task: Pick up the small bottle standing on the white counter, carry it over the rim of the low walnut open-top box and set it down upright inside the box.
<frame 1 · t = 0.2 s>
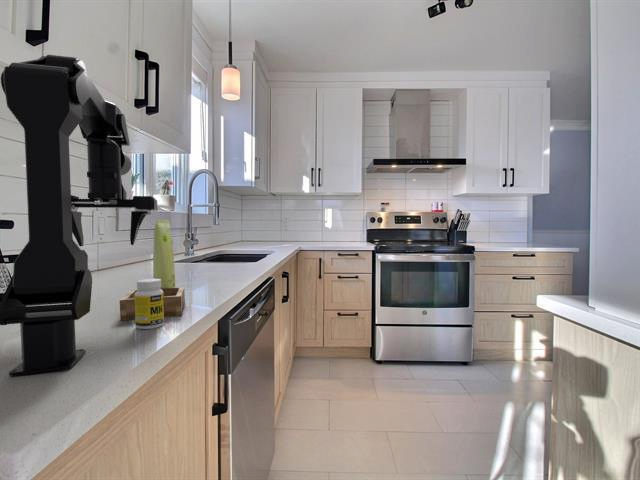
hand: (107, 245, 72), 14 cm above the counter, fingers open, 9 cm apart
supplement bottle: (150, 326, 64), on the counter
walnut box: (155, 311, 75), on the counter
tube: (164, 302, 84), on the counter
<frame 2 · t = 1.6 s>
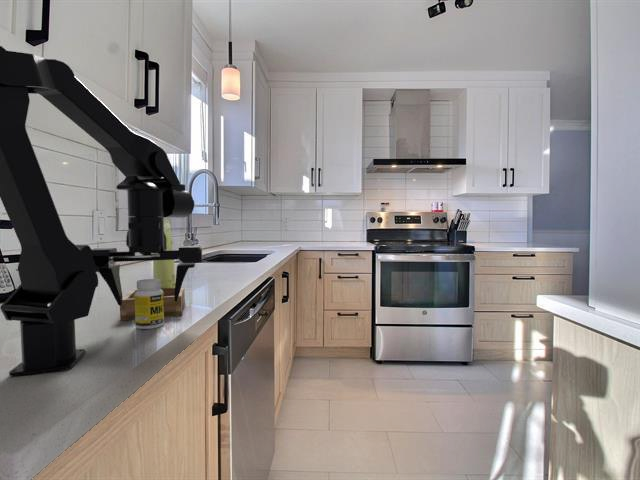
hand: (148, 303, 64), 4 cm above the counter, fingers open, 9 cm apart
nothing on the counter moved.
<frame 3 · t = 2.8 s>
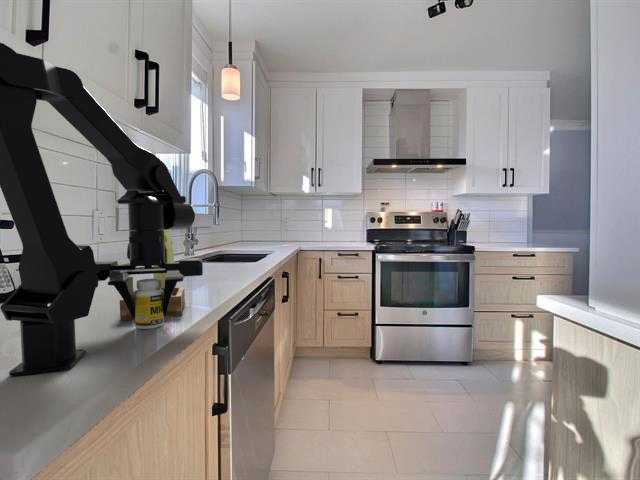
hand: (149, 315, 64), 2 cm above the counter, fingers closed on supplement bottle, 5 cm apart
supplement bottle: (150, 326, 64), on the counter, touching gripper
everything else where it was.
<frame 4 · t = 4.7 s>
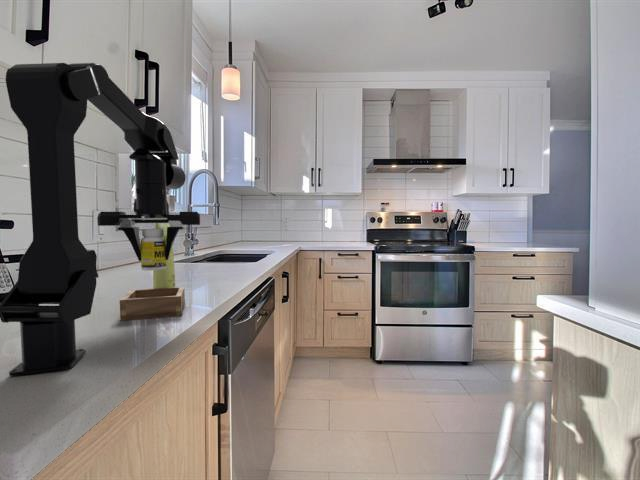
hand: (153, 260, 73), 11 cm above the counter, fingers closed on supplement bottle, 5 cm apart
supplement bottle: (154, 270, 74), point 9 cm above the counter, touching gripper
everything else where it was.
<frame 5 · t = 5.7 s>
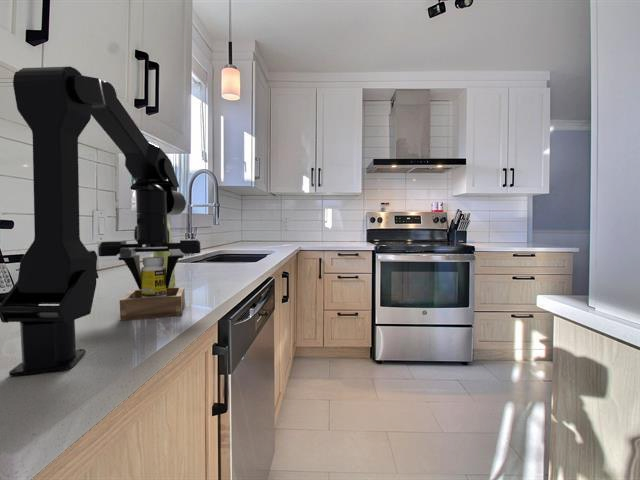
hand: (154, 288, 74), 5 cm above the counter, fingers closed on supplement bottle, 5 cm apart
supplement bottle: (154, 298, 74), point 3 cm above the counter, touching gripper
everything else where it was.
when the fingers open (4 cm above the counter, at t = 6.6 s): supplement bottle drops 1 cm, resting on walnut box.
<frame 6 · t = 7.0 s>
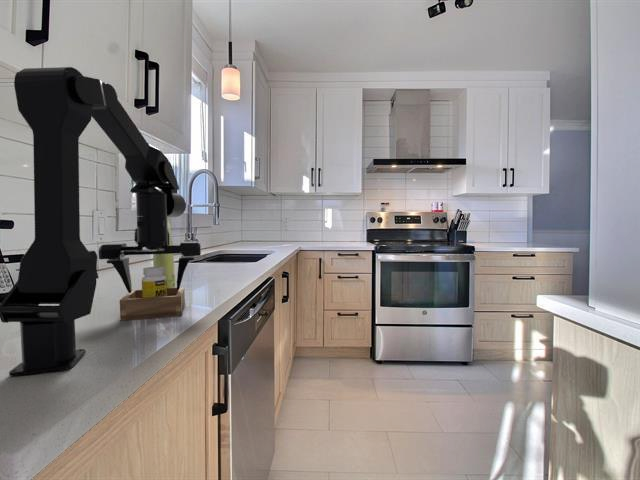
hand: (154, 291, 74), 4 cm above the counter, fingers open, 9 cm apart
supplement bottle: (155, 308, 74), point 1 cm above the counter, touching walnut box
everything else where it was.
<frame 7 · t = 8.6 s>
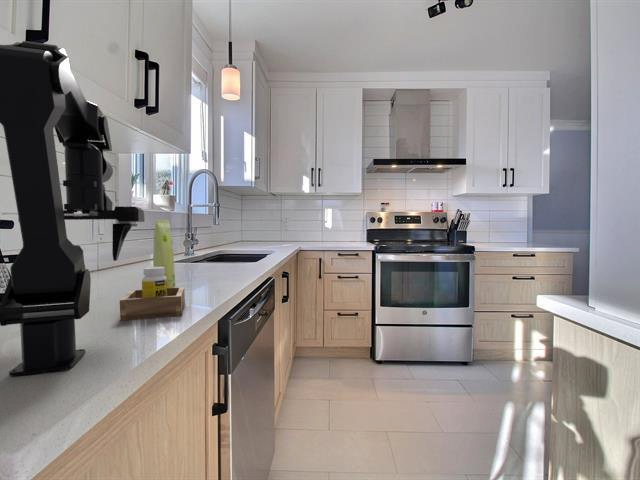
hand: (87, 261, 65), 12 cm above the counter, fingers open, 9 cm apart
nothing on the counter moved.
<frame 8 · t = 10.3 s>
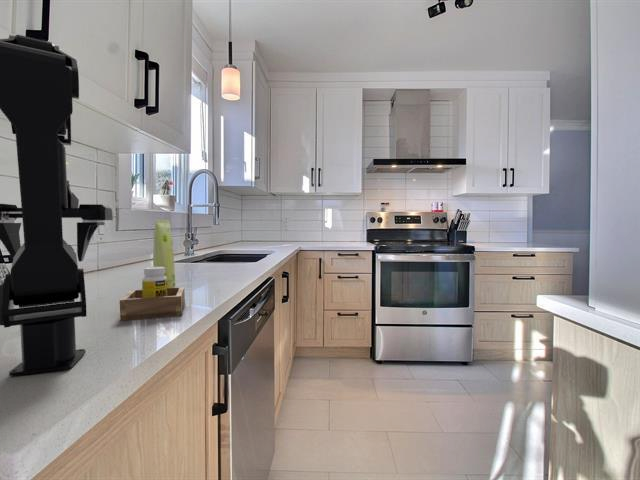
hand: (50, 262, 62), 12 cm above the counter, fingers open, 9 cm apart
nothing on the counter moved.
at the end: supplement bottle inside the target area on the walnut box (0.6 cm from its centre), point 0.8 cm above the walnut box's base; supplement bottle tilted 0°; the gripper is holding nothing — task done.
